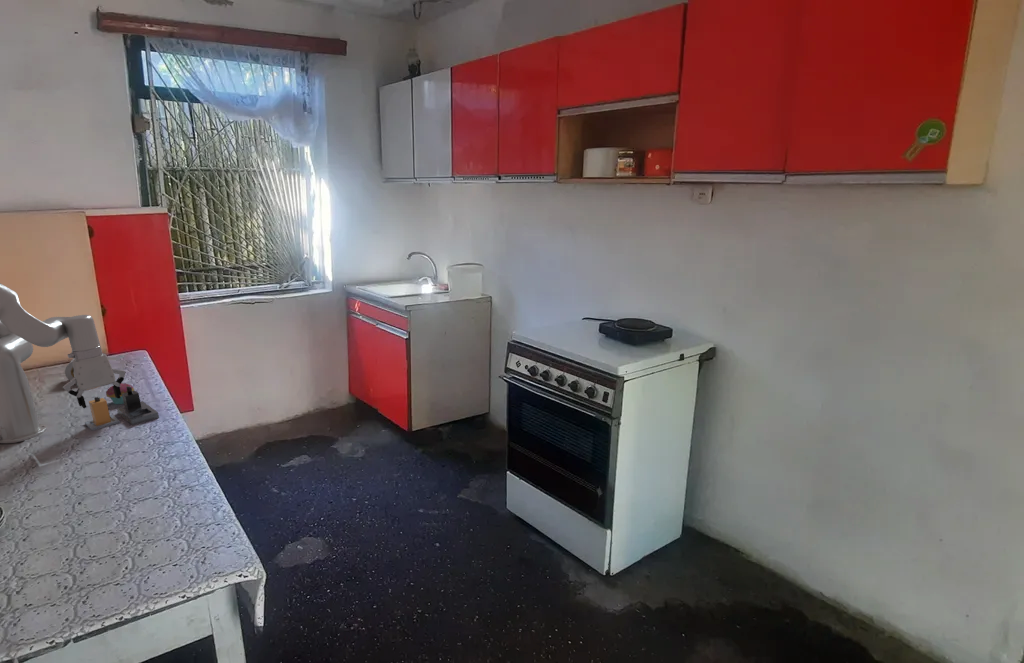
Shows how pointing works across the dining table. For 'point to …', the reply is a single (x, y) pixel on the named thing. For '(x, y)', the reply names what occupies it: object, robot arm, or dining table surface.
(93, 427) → the tray
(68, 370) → the toilet paper
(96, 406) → the plug
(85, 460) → the dining table surface
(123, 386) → the cupcake
